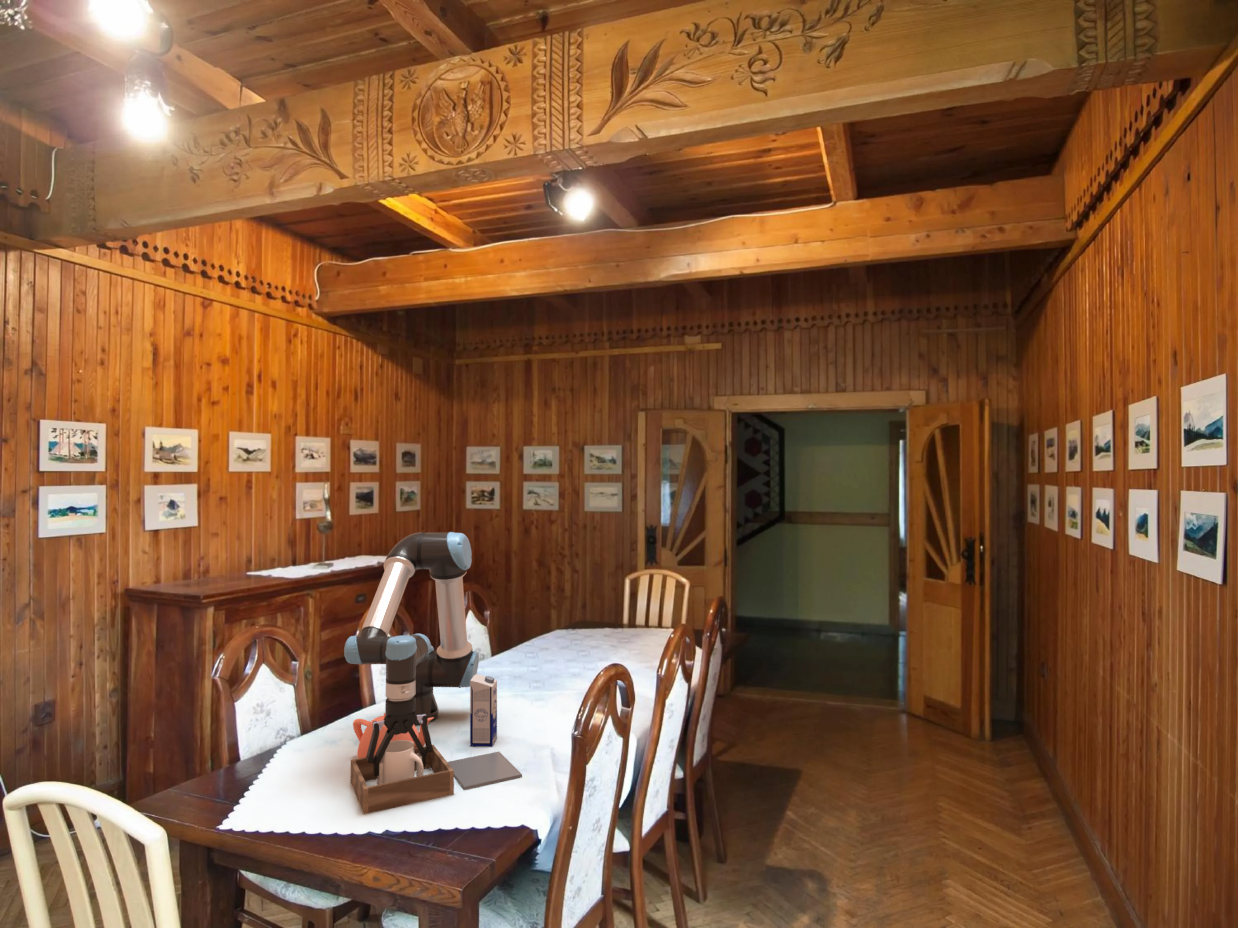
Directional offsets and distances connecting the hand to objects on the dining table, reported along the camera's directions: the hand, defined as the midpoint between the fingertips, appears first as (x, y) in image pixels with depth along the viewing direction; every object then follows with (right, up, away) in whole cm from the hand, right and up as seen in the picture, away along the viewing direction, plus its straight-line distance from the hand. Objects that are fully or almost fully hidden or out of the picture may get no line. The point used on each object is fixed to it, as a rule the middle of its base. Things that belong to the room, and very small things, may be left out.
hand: (399, 783), depth 187 cm
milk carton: (+16, -2, +32) cm, 36 cm away
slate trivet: (+20, -1, +11) cm, 22 cm away
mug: (+1, -2, +1) cm, 2 cm away
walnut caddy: (0, -1, 0) cm, 1 cm away
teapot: (-8, -2, +19) cm, 20 cm away
